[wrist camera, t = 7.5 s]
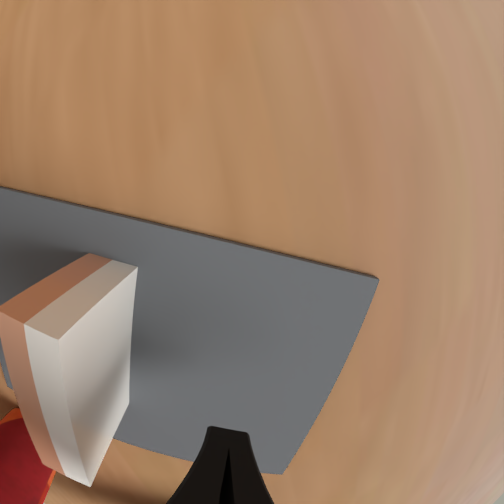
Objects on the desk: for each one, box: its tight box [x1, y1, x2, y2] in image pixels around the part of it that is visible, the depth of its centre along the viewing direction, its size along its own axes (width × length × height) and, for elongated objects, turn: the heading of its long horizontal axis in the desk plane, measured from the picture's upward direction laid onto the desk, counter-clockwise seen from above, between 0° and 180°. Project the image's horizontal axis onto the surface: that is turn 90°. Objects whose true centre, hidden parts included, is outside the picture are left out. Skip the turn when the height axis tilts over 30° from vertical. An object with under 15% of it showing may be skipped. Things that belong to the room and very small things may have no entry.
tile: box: [0, 253, 138, 487], centre depth 10 cm, size 8×2×6 cm, turn 166°
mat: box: [0, 186, 379, 474], centre depth 13 cm, size 14×20×1 cm
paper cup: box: [0, 408, 56, 504], centre depth 9 cm, size 8×8×14 cm
